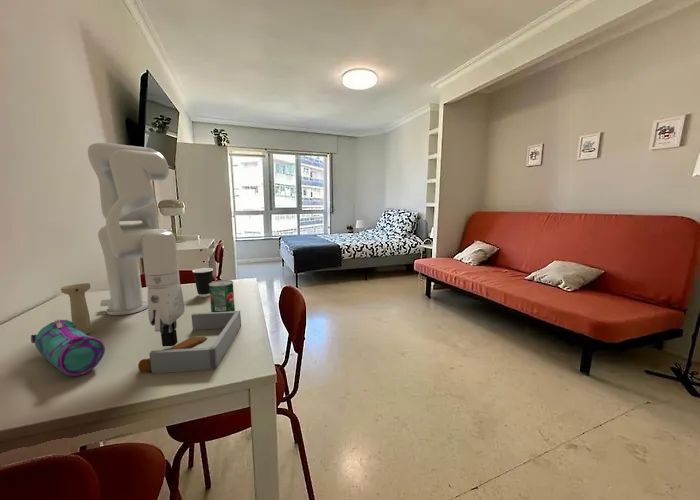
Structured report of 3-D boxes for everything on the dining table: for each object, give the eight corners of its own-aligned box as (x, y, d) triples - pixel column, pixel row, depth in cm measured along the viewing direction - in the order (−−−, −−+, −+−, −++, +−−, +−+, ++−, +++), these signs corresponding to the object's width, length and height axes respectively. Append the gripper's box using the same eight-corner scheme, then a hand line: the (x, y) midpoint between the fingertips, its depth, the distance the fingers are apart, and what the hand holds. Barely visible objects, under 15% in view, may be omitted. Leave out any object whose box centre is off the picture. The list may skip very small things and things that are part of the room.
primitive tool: (192, 338, 89) (191, 326, 89) (209, 339, 88) (208, 328, 88) (136, 374, 71) (134, 360, 70) (156, 376, 70) (154, 362, 69)
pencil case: (34, 359, 77) (27, 323, 75) (79, 345, 84) (73, 312, 83) (61, 386, 66) (54, 344, 64) (110, 367, 73) (104, 329, 72)
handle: (98, 333, 92) (91, 285, 90) (69, 340, 88) (61, 289, 85) (95, 328, 96) (88, 282, 93) (68, 335, 91) (60, 286, 89)
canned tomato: (209, 311, 109) (206, 282, 108) (231, 307, 114) (229, 278, 112) (214, 318, 103) (211, 287, 101) (237, 313, 108) (235, 283, 106)
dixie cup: (219, 294, 131) (217, 269, 129) (201, 299, 124) (199, 272, 122) (208, 291, 135) (206, 267, 133) (190, 295, 128) (188, 270, 127)
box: (151, 373, 70) (149, 353, 69) (194, 328, 95) (192, 313, 94) (216, 369, 72) (214, 349, 71) (241, 326, 97) (240, 310, 96)
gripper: (164, 286, 72) (171, 358, 75) (189, 272, 87) (195, 332, 90) (130, 287, 72) (139, 359, 74) (161, 272, 86) (168, 333, 89)
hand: (170, 344), depth 82 cm, fingers closed
